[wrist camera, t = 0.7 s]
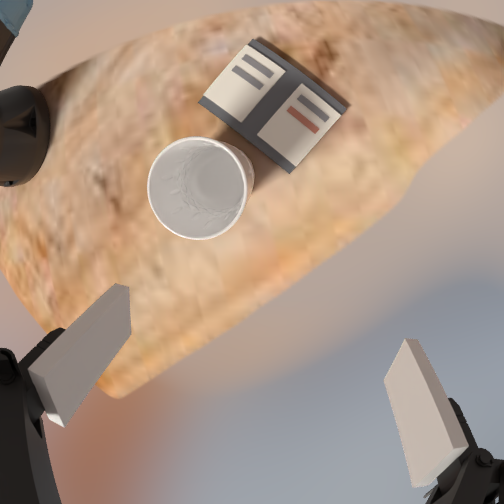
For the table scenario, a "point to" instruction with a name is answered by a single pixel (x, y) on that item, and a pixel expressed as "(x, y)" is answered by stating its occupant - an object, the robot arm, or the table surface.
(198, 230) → the white cup
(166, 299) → the table surface
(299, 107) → the label board
